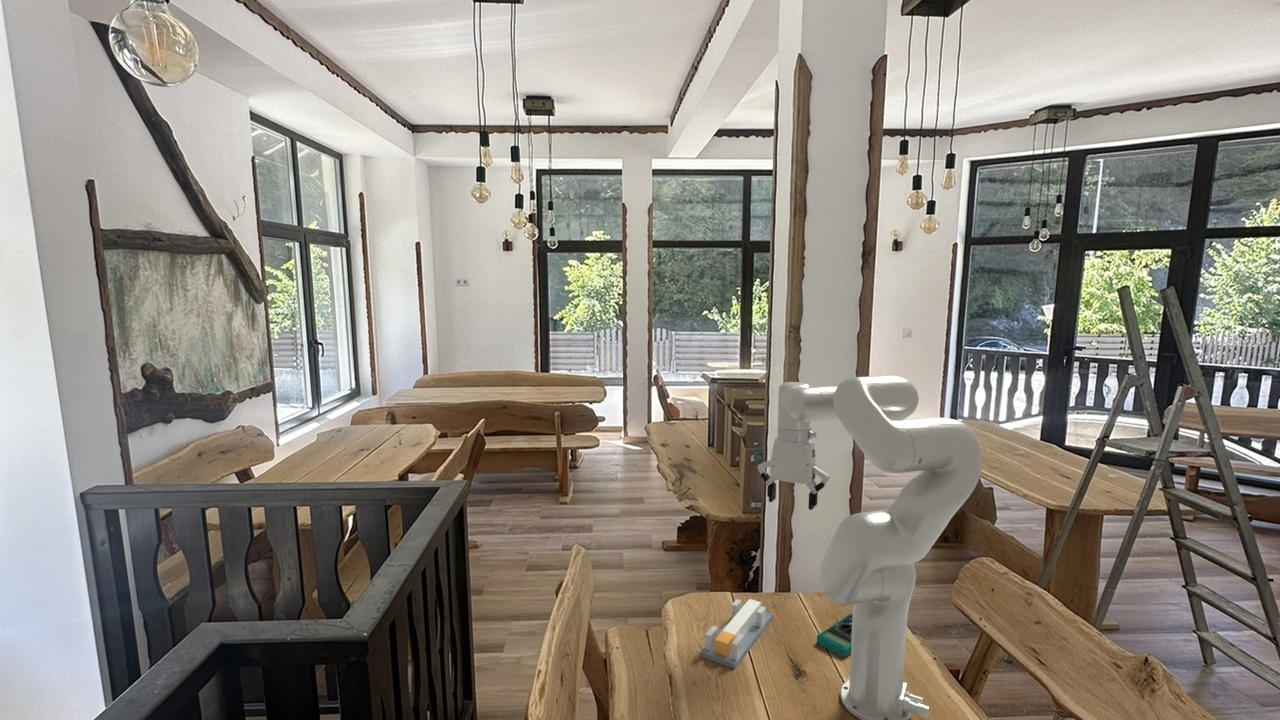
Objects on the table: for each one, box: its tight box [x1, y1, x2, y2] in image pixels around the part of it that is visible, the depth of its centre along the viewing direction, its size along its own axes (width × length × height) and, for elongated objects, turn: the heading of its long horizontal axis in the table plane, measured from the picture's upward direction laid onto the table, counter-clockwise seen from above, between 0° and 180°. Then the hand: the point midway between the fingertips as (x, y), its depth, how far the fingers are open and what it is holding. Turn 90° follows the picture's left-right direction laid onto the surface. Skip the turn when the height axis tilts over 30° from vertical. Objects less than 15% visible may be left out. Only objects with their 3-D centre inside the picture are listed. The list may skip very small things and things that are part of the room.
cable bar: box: [715, 598, 762, 657], centre depth 134 cm, size 3×20×3 cm, turn 148°
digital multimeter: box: [816, 613, 853, 658], centre depth 134 cm, size 7×15×3 cm, turn 130°
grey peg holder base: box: [700, 598, 774, 670], centre depth 134 cm, size 8×23×4 cm, turn 148°
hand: (791, 504), depth 140 cm, fingers open, 9 cm apart
